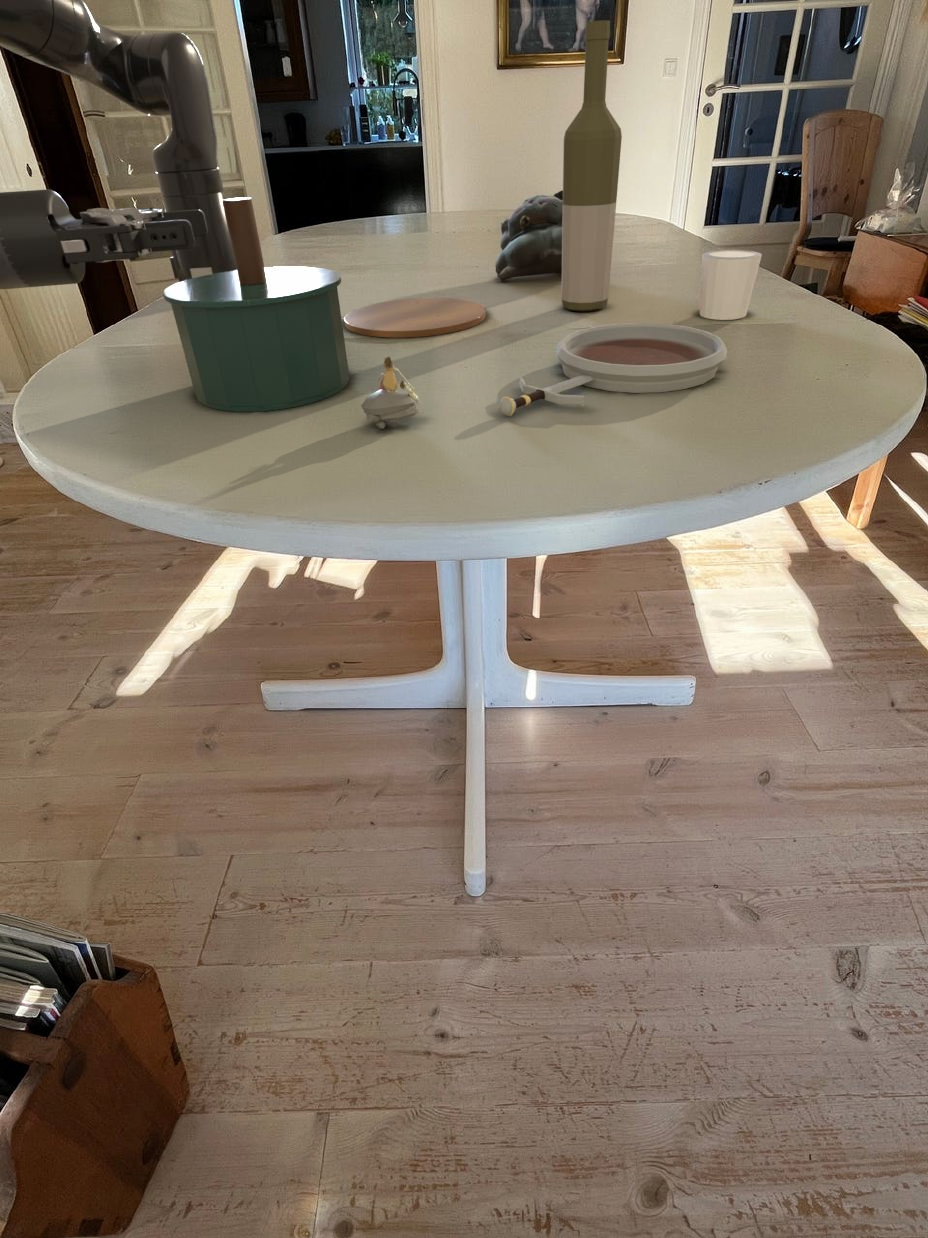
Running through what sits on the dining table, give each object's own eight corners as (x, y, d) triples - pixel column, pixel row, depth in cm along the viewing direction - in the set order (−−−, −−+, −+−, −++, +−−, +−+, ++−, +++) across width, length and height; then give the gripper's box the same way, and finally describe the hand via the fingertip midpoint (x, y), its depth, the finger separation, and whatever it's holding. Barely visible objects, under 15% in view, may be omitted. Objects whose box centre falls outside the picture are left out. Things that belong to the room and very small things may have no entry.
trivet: (315, 330, 94) (314, 323, 93) (397, 299, 107) (396, 294, 106) (437, 343, 85) (437, 336, 85) (510, 308, 99) (510, 302, 98)
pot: (164, 399, 73) (135, 299, 67) (270, 358, 83) (252, 269, 78) (279, 420, 66) (257, 311, 60) (378, 373, 77) (367, 277, 71)
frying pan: (439, 373, 68) (626, 311, 82) (441, 403, 69) (625, 337, 83) (573, 414, 57) (763, 335, 71) (572, 449, 59) (758, 365, 73)
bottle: (586, 316, 93) (601, 16, 75) (547, 309, 97) (553, 24, 80) (621, 306, 96) (643, 18, 79) (581, 299, 101) (594, 25, 83)
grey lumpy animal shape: (479, 282, 114) (476, 190, 112) (520, 300, 123) (517, 216, 122) (561, 256, 105) (558, 156, 103) (598, 278, 114) (596, 186, 113)
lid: (127, 307, 67) (98, 209, 63) (253, 274, 79) (236, 189, 74) (259, 321, 60) (236, 211, 55) (376, 282, 72) (366, 188, 67)
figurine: (366, 434, 62) (356, 364, 58) (362, 417, 65) (353, 350, 62) (425, 427, 63) (420, 357, 59) (418, 411, 66) (413, 344, 63)
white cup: (683, 312, 92) (690, 252, 88) (726, 305, 94) (735, 246, 90) (718, 323, 87) (728, 260, 83) (763, 315, 89) (774, 253, 85)
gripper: (-37, 200, 56) (176, 185, 58) (23, 186, 67) (199, 174, 69) (3, 302, 60) (200, 286, 62) (53, 273, 72) (218, 260, 73)
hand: (199, 227), depth 65 cm, fingers open, 8 cm apart
